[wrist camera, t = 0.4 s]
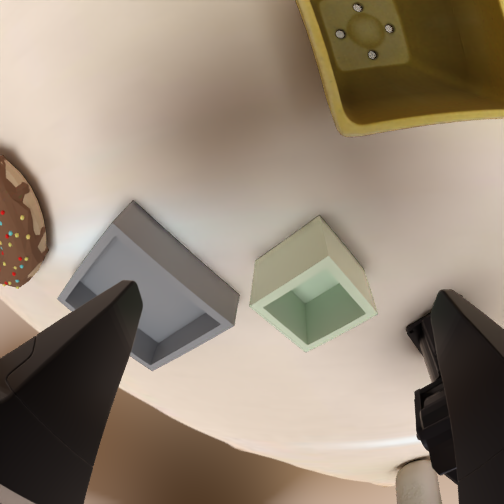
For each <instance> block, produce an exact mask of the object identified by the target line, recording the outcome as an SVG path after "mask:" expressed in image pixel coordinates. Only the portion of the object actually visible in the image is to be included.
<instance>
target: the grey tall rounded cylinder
mask: <svg viewBox="0 0 504 504" xmlns="http://www.w3.org/2000/svg"><path fill="white" fill-rule="evenodd" d="M396 496H397V504H442V500H441V495H440V490H439V483H438V477H437V473H436V471H435V470H434V469H433V468H432V465H431V462H430V461H429V460H417V461H413V462H411V463H408V464H407V465H405V466H404V467H402V468H401V469H400V471H399V472H398V474H397V477H396Z"/></svg>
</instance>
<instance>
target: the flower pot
mask: <svg viewBox="0 0 504 504" xmlns="http://www.w3.org/2000/svg"><path fill="white" fill-rule="evenodd" d="M295 1H296V4H297V6H298V9H299V11H300V14H301V17H302V19H303V22H304V25H305V28H306V31H307V34H308V37H309V40H310V43H311V46H312V49H313V53H314V56H315V59H316V63H317V66H318V70H319V73H320V77H321V80H322V84H323V88H324V92H325V96H326V99H327V102H328V105H329V108H330V111H331V114H332V117H333V120H334V123H335V126H336V128H337V130H338V131H339V133H340V134H341V135H342V136H345V137H358V136H366V135H371V134H375V133H382V132H387V131H394V130H400V129H406V128H412V127H419V126H426V125H433V124H443V123H451V122H458V121H469V120H482V119H503V118H504V0H295ZM355 4H359V5H361V6H362V11H360V12H357V11H355V10H354V8H353V6H354V5H355ZM386 25H391V26H392V27H393V32H392V33H389V32H387V31H386V29H385V26H386ZM337 30H342V31H343V32H344V33H345V36H344V38H338V37H337V36H336V31H337ZM369 51H374V52H375V53H376V54H377V57H376V58H375V59H370V58H369V56H368V53H369Z"/></svg>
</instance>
